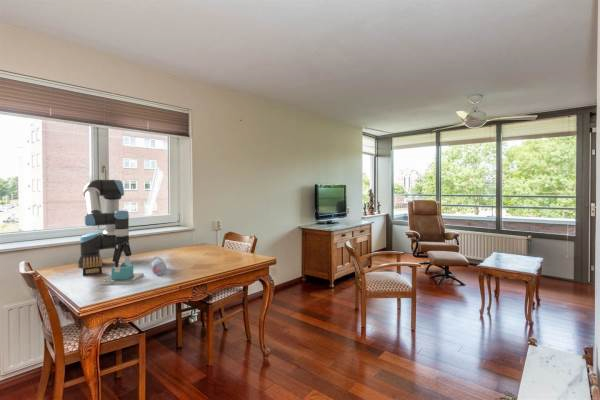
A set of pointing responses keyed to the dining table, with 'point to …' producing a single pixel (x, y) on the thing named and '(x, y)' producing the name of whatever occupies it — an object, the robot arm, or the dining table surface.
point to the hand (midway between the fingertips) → (122, 268)
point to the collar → (122, 272)
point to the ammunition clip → (94, 270)
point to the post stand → (122, 281)
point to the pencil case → (158, 266)
